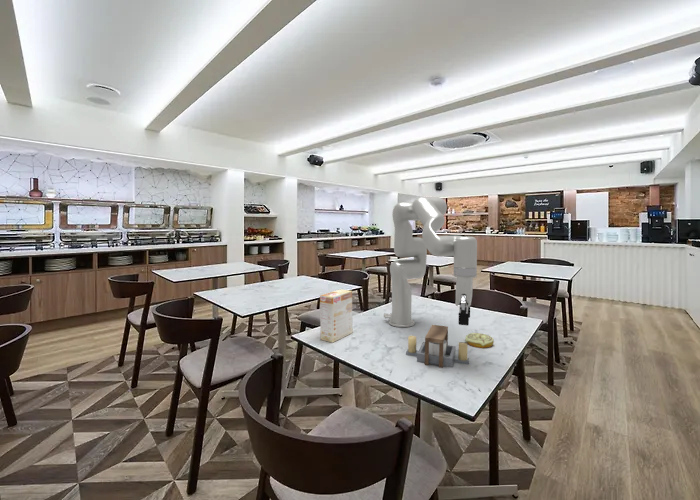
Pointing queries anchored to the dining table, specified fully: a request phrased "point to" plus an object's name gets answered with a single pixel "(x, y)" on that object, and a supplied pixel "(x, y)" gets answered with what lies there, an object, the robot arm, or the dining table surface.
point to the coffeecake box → (336, 315)
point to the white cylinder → (436, 348)
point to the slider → (435, 358)
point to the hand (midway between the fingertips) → (464, 320)
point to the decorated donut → (479, 340)
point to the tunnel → (436, 335)
